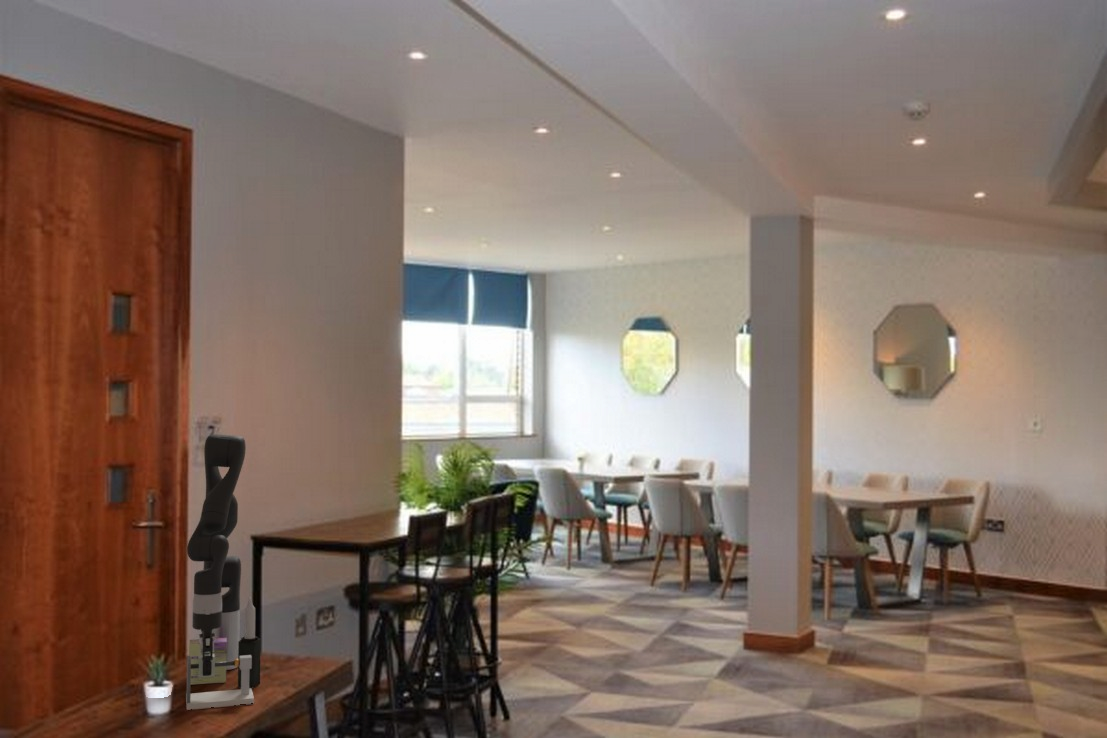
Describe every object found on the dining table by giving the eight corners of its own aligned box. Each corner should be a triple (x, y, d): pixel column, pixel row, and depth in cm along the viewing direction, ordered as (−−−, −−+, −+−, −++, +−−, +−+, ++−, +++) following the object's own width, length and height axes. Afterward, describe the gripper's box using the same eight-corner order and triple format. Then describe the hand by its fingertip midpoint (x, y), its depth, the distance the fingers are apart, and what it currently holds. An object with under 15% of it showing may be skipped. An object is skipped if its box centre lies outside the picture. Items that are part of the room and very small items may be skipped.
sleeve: (198, 673, 282) (198, 654, 282) (214, 672, 283) (214, 653, 283) (198, 677, 278) (199, 658, 278) (214, 675, 280) (214, 657, 280)
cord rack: (186, 699, 284) (186, 654, 284) (251, 693, 289) (251, 650, 290) (186, 709, 274) (187, 663, 274) (254, 703, 280) (254, 658, 280)
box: (226, 677, 306) (226, 636, 306) (226, 682, 300) (227, 641, 301) (188, 680, 303) (188, 639, 303) (188, 685, 297) (188, 643, 298)
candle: (252, 688, 295) (254, 598, 295) (236, 687, 296) (237, 598, 296) (261, 683, 300) (262, 595, 300) (245, 682, 301) (246, 594, 301)
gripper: (192, 605, 287) (191, 666, 286) (193, 615, 273) (192, 680, 273) (220, 603, 289) (220, 664, 289) (223, 614, 276) (222, 677, 275)
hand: (206, 671), depth 281 cm, fingers open, 7 cm apart
